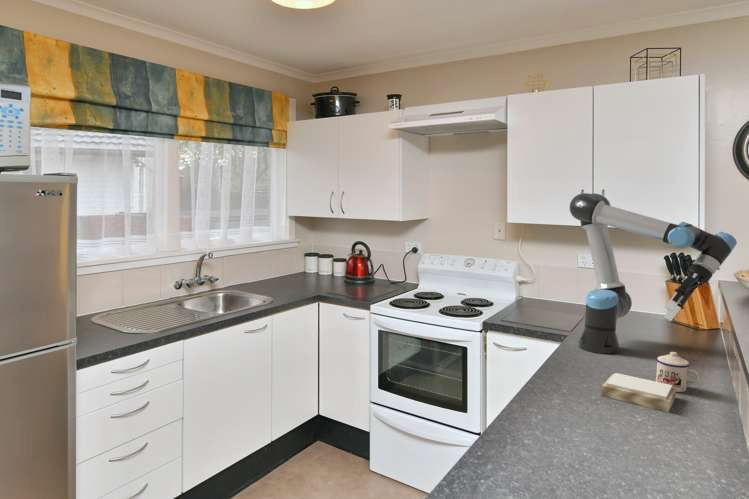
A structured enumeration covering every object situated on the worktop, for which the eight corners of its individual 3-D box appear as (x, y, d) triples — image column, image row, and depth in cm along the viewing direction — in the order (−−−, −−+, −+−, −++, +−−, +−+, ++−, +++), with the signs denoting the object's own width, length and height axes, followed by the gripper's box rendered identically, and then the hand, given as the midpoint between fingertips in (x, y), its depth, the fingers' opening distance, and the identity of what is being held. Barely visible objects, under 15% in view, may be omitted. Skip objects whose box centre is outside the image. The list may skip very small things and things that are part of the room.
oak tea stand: (601, 395, 152) (602, 383, 152) (612, 383, 163) (613, 371, 163) (668, 412, 141) (669, 398, 141) (675, 397, 152) (676, 385, 152)
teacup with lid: (651, 387, 160) (654, 352, 159) (658, 380, 167) (661, 346, 166) (694, 397, 152) (698, 361, 151) (700, 390, 159) (703, 354, 158)
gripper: (717, 262, 170) (679, 310, 170) (709, 285, 191) (676, 328, 190) (695, 251, 175) (658, 298, 174) (689, 275, 195) (657, 317, 194)
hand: (667, 314), depth 182 cm, fingers open, 13 cm apart
